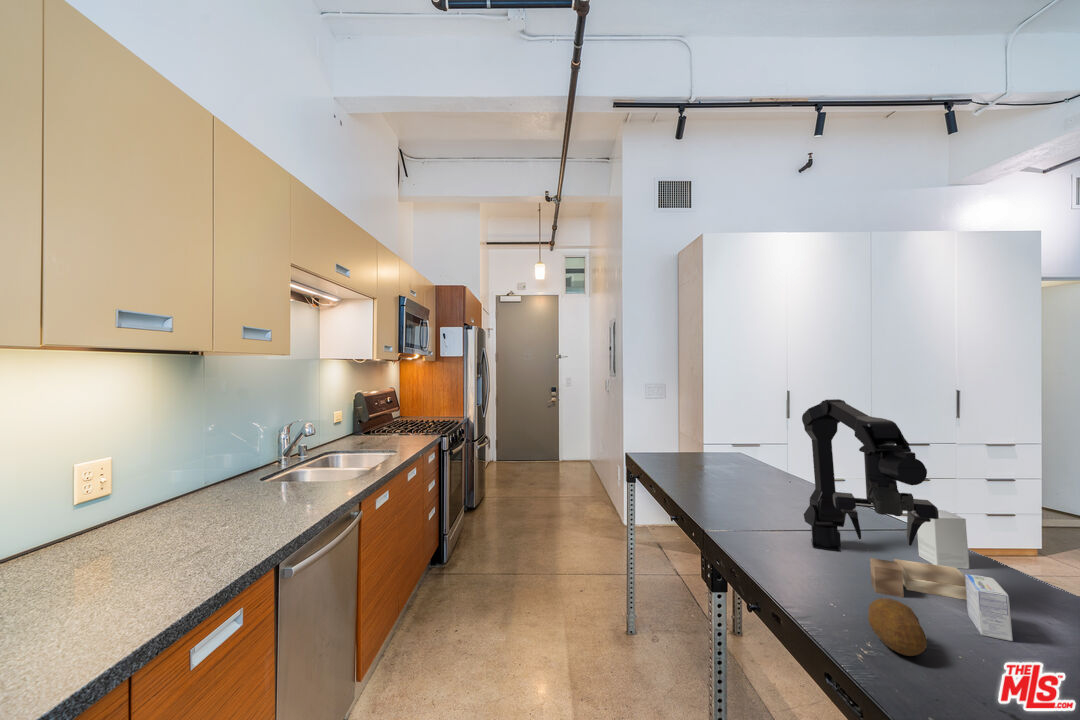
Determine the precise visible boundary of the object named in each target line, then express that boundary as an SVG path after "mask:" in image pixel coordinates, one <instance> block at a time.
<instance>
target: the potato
mask: <svg viewBox="0 0 1080 720" xmlns="http://www.w3.org/2000/svg"><path fill="white" fill-rule="evenodd" d="M867 619H868V623H869V625H870V628H871V629H872V631H873V633H874V634H875V635H876V636H877V638H879V640H880V641H881V642H882V643H883V644H884V645H885V646H887V648H889V649H890V650H892V651H895V652H896V653H898V654H900V655H903V656H906V657H907V656H909V657H914V656H919V655H921V654H922V653H924V652H925V650H926V649H927V646H928V638H927V635H926V633H925V631H924V629H923V627H922V626H921V624H920V620H919V618H918V616H917V615H916V613H915V612H914V611H913V609H912V608H911V607H910V606H909V605H907V604H904V603H903V602H901V601H899V600H896V599H892V598H884V597H882V598H877V599H875V600H873V601H872V602H871V603H870V604H869V605H868V617H867Z"/></svg>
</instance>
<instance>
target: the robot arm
mask: <svg viewBox="0 0 1080 720" xmlns="http://www.w3.org/2000/svg"><path fill="white" fill-rule="evenodd" d="M801 420H802V421H801V422H802V424H803V427H804V431H805V432H806V434H807V436H809V438H810V439H811V446H812V459H813V460H812V461H813V475H814V476H813V477H814V490H813V492H812V493H811V496H810V497H809V506H808V507H807V508H806V510H805V512H804V513H803V518H804V522H805V523H807V525H810V528H811V529H810V530H811V540H810V541H811V547H812V548H815V549H820V550H821V549H822V550H828V551H834V552H835V551H837V552H841V547H842V544H841V543H842V542H841V541H842V540H841V531H840V530H839V529H838V527H839V528H844V527H845V524H846V523H845V522H846V518H847V517H846V516H847V515H848V518H849V519H850V520H851V521H850V522H851V523H852V525H853V528H854V530H855V532H856V533H855V534H856V535H857V538H858V540H861V539H862V532H861V531H862V530H861V526H860V523H859V522H860V521H859V514H858V511H857V509H856V508H857V507H863V508H871V509H872V508H873V509H874V512H875V513H876V514H878V515H883V516H884V515H888V516H889V515H890V516H895V517H903V514H904V513H903V512H907V513H906V514H907V516H906V518H907V522H906V541H907V545H908V546H909V547H911V546H912V545H913V542H914V540H915V538H916V535H917V531H918V529H919V528H920V526H921V525H922V524H923V523H924V522H930V521H931V519H939V515H938V510H939V509H938V507H937V506H935V504H933V503H932V502H931V501H930V500H928V499H919V498H914V495H913V494H912V493H908V492H900V491H899V489H898V482H900V483H903V484H904V485H905V484H906V485H909V486H917V485H920V484H922V483H923V482H924V481H925V480H926V478H927V475H928V469H927V468H926V466H925V464H924V463H923V462H922V461H921V460H920V459H918V458H916V453H915V452H912V449H911V447H910V444H909V442H908V440H907V439H906V438H905V436H904V435H903V432H902V431H901V428H900V427H899V425H897V423H896V422H895V421H892V420H890V419H887V418H886V419H885V418H881V417H874V416H871V415H868V414H867V413H864V412H862V411H860V410H859V409H857V408H855V407H853V406H851V405H850V404H848V403H847V402H846V401H845V400H842V399H836V398H834V399H824V400H822V401H820V403H818V404H816V405H813V406H811V407H809V408H808V409H806V411H804V413H803V414H802V417H801ZM840 423H842V424H843V425H845V426H846V427H848V428H850V429H851V430H853V431H854V437H855V438H856V439H857V440H858V441H860V443H862V446H861V447H859V449H858V451H859V452H862V453H863V457H864V474H865V493H866V494H865V495H866V498H863V497H862V498H859V497H855V496H854V495H853V493H850V492H840V491H836V481H835V480H836V479H835V467H834V455H833V454H834V453H833V439H834V437H835V436H836V434H837V433H838V425H839V424H840Z"/></svg>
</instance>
